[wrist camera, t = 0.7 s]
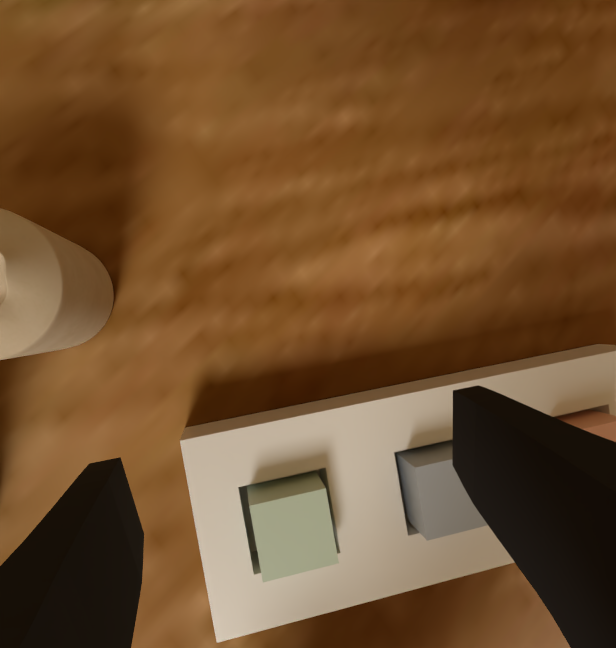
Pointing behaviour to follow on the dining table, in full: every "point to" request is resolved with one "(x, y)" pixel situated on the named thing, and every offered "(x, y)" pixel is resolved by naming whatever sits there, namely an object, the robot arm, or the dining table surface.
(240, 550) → the button panel
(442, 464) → the slate button
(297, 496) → the sage button
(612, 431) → the terracotta button
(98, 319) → the candle
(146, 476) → the dining table surface
